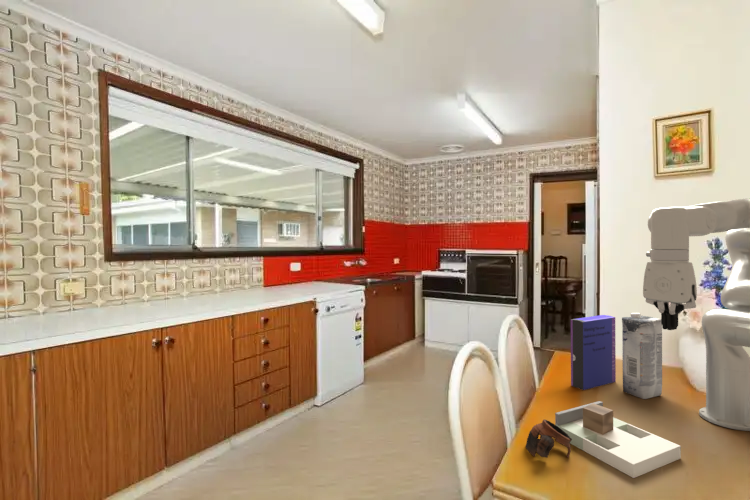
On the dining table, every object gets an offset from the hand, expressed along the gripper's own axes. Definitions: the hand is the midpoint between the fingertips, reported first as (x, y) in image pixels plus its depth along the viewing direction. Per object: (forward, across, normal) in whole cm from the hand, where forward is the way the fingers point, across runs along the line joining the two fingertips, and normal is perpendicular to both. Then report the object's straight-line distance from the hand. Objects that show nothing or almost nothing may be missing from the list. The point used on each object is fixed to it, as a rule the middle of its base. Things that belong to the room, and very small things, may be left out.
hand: (669, 328), depth 94 cm
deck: (+29, -5, -14) cm, 33 cm away
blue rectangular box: (+29, -35, +20) cm, 50 cm away
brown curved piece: (+29, -10, -32) cm, 44 cm away
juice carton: (+29, -22, +26) cm, 45 cm away
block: (+26, -9, -15) cm, 31 cm away
